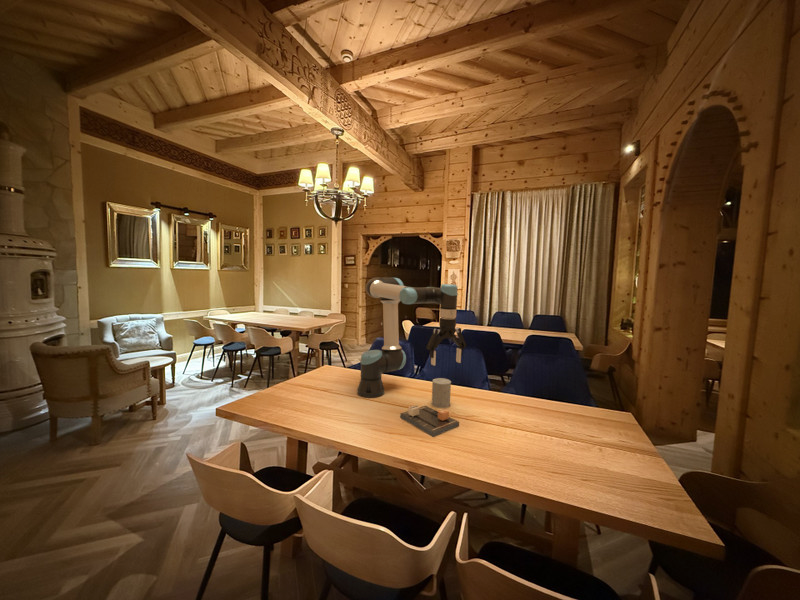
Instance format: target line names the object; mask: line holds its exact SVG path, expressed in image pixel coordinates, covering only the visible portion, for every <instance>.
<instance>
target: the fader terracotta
mask: <svg viewBox="0 0 800 600" xmlns="http://www.w3.org/2000/svg"><path fill="white" fill-rule="evenodd" d="M449 417H450V411H449V410H448V409H446V408H442V409H440V410H438V419H440V420H442V421H443V420H446V419H448V418H449Z"/></svg>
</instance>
